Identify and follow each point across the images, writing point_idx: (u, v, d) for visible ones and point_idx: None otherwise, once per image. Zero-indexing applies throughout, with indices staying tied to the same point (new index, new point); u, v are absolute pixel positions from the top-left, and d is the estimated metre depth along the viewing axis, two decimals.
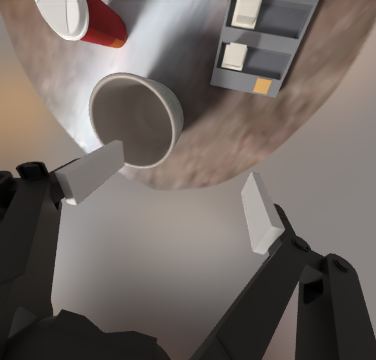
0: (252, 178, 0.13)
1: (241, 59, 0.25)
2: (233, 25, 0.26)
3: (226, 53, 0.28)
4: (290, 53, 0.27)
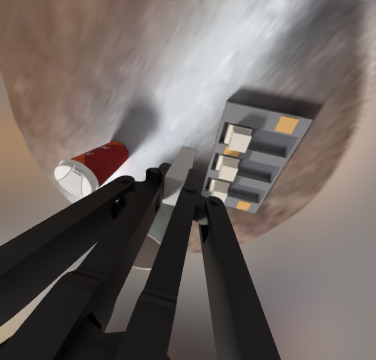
0: (187, 152, 0.15)
1: (223, 200, 0.31)
2: None
3: (212, 184, 0.33)
4: (265, 189, 0.32)
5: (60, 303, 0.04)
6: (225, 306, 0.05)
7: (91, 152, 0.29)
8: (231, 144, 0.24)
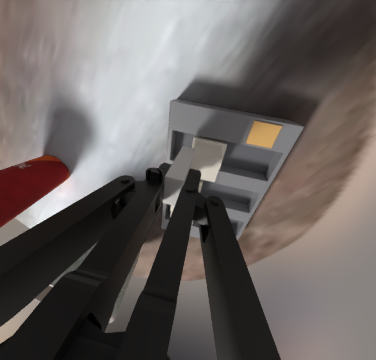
0: (187, 152, 0.15)
1: None
2: None
3: None
4: (243, 220, 0.23)
5: (60, 303, 0.04)
6: (225, 306, 0.05)
7: None
8: None
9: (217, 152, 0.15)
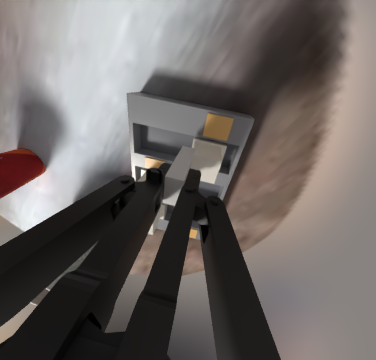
0: (187, 152, 0.15)
1: (151, 231, 0.22)
2: None
3: None
4: None
5: (60, 303, 0.04)
6: (225, 306, 0.05)
7: None
8: None
9: (217, 154, 0.15)
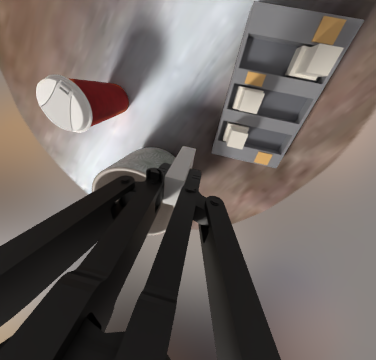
0: (187, 152, 0.15)
1: (242, 144, 0.26)
2: (234, 108, 0.26)
3: (227, 130, 0.28)
4: (291, 134, 0.27)
5: (60, 303, 0.04)
6: (225, 306, 0.05)
7: (83, 80, 0.24)
8: (311, 63, 0.19)
9: None
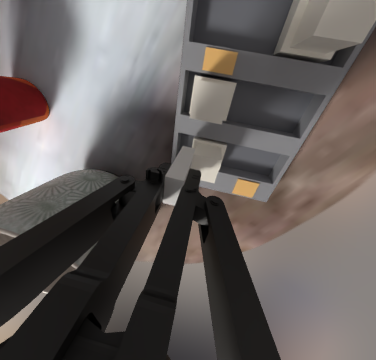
0: (187, 152, 0.15)
1: (214, 175, 0.15)
2: None
3: None
4: (287, 154, 0.17)
5: (60, 303, 0.04)
6: (225, 306, 0.05)
7: None
8: (327, 14, 0.08)
9: None
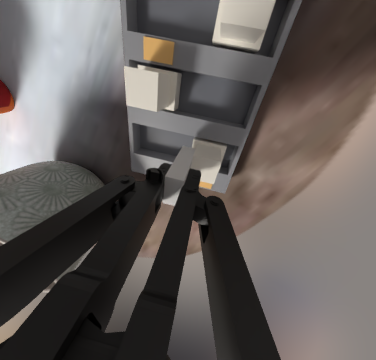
0: (187, 152, 0.15)
1: (213, 177, 0.15)
2: None
3: None
4: (236, 144, 0.17)
5: (60, 303, 0.04)
6: (225, 306, 0.05)
7: None
8: (228, 0, 0.09)
9: None
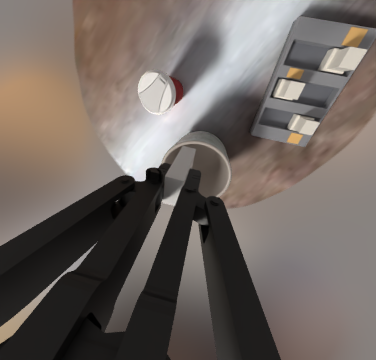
0: (187, 152, 0.15)
1: (313, 131, 0.33)
2: None
3: (295, 121, 0.35)
4: (319, 117, 0.34)
5: (60, 303, 0.04)
6: (225, 306, 0.05)
7: None
8: (343, 60, 0.26)
9: None
